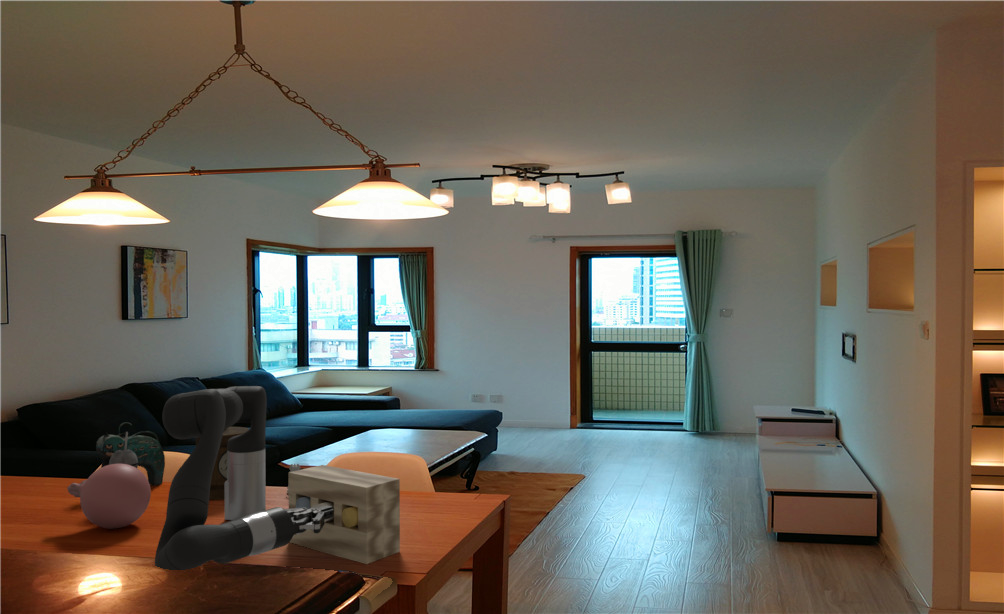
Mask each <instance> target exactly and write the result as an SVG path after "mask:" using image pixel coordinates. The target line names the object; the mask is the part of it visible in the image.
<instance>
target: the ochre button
mask: <svg viewBox="0 0 1004 614" xmlns="http://www.w3.org/2000/svg"><path fill="white" fill-rule="evenodd" d="M342 521H343V523H344V524H345V526H347V527H353V526H356V525H358V507H354V506H353V507H349V508H346V509H344V510H343V512H342Z"/></svg>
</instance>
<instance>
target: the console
mask: <svg viewBox="0 0 1004 614" xmlns="http://www.w3.org/2000/svg"><path fill="white" fill-rule="evenodd" d="M400 482H401V481H400V478H398V477H397V478H396V477H391V476H387V475H385V476H384V475H381V474H380V475H379V474H374V473H369V472H364V471H359V470H358V471H357V470H353V469H347V468H342V467H337V466H330V465H324V464H320V465H317V466H311V467H307V468H303V469H302V468H301V469H299V470H297V471H293V472H291V471H289V472H288V485H289V493H288V509H294V508H296V501H297V500H298V499H299V498H302V497H306V496H308V497H311V507H312V506H314V505H317V504H321V503H325V502H328V501H331V502H334V519H333V520H329V521H326V522H324V526H323V528H322V529H321V531H320V532H319V533H314V531H312V529H309V530H306V531H305V532H303V533H301V534H298V535H295V534H294V536H293V537H292V539H291V541H290V543H289V544H292V543H294V544H293V545H295V544H298V545H297V546H299V545H301V546H300V547H303V546H304V547H303V548H306V547H307V549H310V548H311V549H310V550H314V551H318V552H321V553H325V554H327V555H332V556H335V557H339V558H342V559H346V560H350V561H355V562H357V563H362V564H364V565H369V564H372V563H373V562H376V561H379V560H382V559H384V558H387V557H389V556H392V555H394V554H399V553H400V552H401V539H400V538H401V531H400V529H401V527H400V526H401V522H400V521H401V520H400V519H401V518H400V516H401V515H400V514H401V508H400V507H401V504H400V502H401V501H400V500H401V499H400V498H401V497H400V496H401V495H400V494H401V493H400V489H401V485H400V484H401V483H400ZM353 506H354V507H358V525H356V526H353V527H347V526H345V524H344V523H343V521H342V512H343V510H344V509H346V508H349V507H353Z"/></svg>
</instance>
